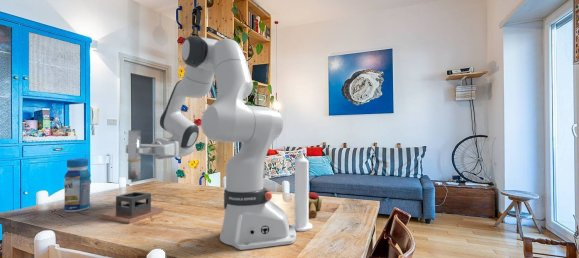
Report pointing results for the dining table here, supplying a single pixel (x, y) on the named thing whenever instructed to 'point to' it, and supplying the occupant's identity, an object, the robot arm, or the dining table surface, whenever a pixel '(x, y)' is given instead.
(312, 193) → the kendama
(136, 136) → the steel tube
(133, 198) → the collar stand
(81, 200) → the blue pill bottle
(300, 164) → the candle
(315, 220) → the dining table surface
